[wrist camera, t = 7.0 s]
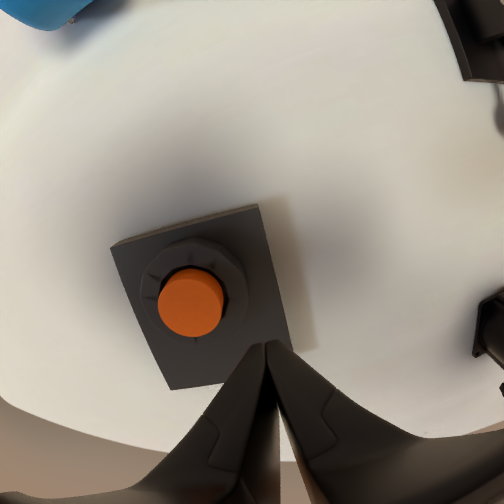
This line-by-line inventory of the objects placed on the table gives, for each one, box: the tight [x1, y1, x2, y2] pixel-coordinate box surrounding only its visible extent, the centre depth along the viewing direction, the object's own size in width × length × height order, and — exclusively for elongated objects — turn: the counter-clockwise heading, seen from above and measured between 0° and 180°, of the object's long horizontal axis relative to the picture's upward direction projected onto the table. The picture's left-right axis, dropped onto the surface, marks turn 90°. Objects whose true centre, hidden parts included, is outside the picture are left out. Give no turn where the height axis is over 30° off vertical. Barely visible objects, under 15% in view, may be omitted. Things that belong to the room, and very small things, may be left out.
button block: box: [110, 204, 293, 390], centre depth 20 cm, size 12×10×4 cm
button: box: [158, 268, 224, 337], centre depth 17 cm, size 4×4×2 cm
